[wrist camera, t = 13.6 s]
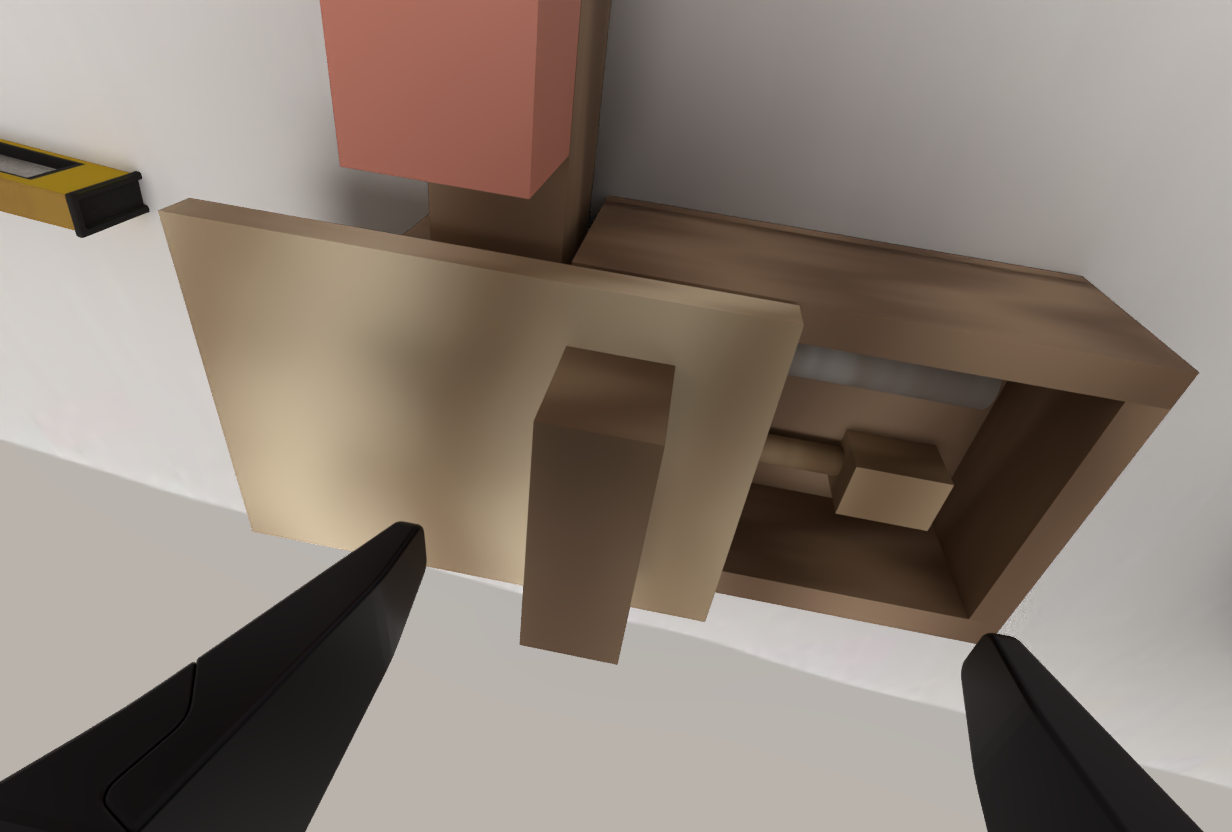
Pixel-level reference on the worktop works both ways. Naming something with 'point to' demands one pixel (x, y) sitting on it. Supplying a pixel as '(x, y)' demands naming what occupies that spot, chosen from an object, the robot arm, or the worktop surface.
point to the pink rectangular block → (454, 89)
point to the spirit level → (66, 190)
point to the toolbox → (875, 390)
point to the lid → (486, 409)
